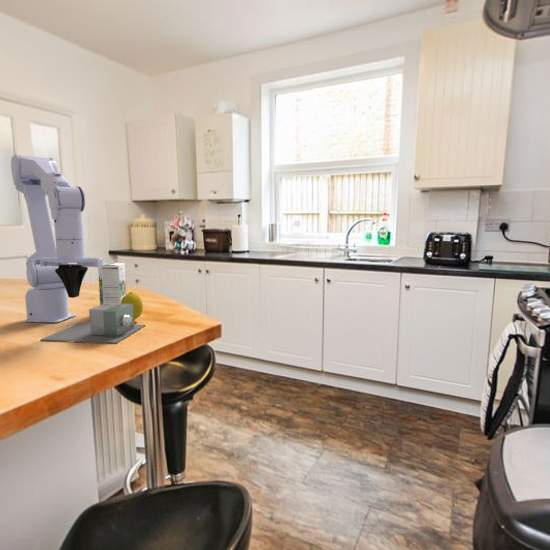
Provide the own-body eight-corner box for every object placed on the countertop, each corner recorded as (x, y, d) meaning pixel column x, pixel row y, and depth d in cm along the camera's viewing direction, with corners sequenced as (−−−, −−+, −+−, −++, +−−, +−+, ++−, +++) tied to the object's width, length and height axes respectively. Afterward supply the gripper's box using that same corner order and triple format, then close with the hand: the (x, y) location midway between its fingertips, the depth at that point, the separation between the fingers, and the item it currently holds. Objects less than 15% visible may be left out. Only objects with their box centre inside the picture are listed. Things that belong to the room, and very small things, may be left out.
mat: (40, 340, 85) (40, 339, 85) (79, 324, 99) (79, 322, 99) (116, 343, 83) (116, 342, 83) (145, 326, 97) (145, 324, 97)
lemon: (136, 324, 98) (134, 294, 97) (116, 323, 99) (115, 293, 98) (147, 319, 103) (146, 290, 102) (129, 318, 105) (127, 289, 103)
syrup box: (107, 311, 113) (104, 262, 111) (127, 310, 113) (125, 262, 111) (100, 316, 107) (96, 264, 105) (121, 315, 108) (118, 264, 106)
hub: (90, 334, 88) (88, 309, 87) (105, 327, 94) (103, 303, 93) (107, 335, 87) (105, 309, 87) (120, 328, 93) (119, 304, 92)
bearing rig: (86, 338, 87) (84, 310, 86) (105, 328, 95) (103, 303, 94) (121, 339, 86) (119, 311, 85) (138, 329, 94) (136, 303, 93)
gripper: (27, 239, 85) (33, 299, 87) (88, 240, 84) (92, 301, 86) (49, 238, 92) (54, 293, 94) (106, 238, 91) (109, 295, 92)
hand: (73, 296), depth 90 cm, fingers closed
